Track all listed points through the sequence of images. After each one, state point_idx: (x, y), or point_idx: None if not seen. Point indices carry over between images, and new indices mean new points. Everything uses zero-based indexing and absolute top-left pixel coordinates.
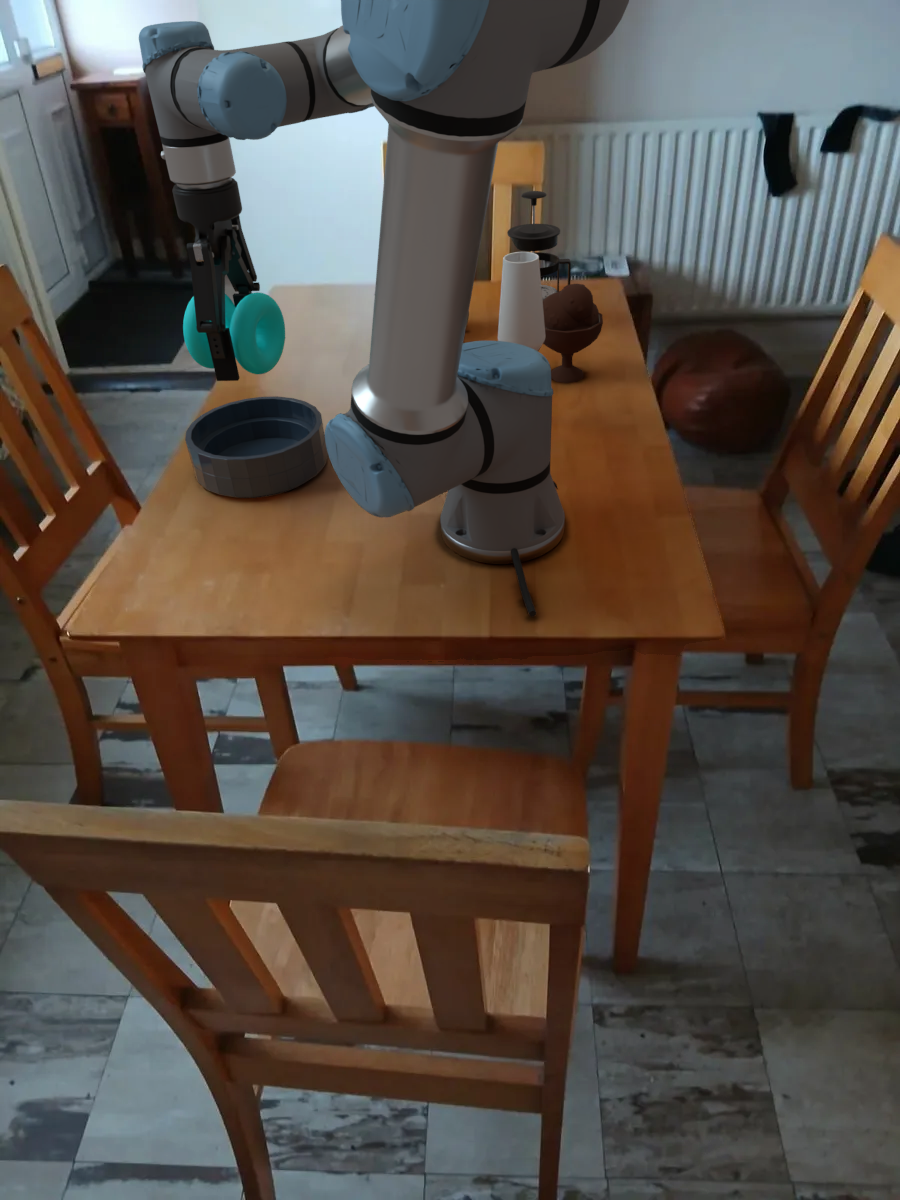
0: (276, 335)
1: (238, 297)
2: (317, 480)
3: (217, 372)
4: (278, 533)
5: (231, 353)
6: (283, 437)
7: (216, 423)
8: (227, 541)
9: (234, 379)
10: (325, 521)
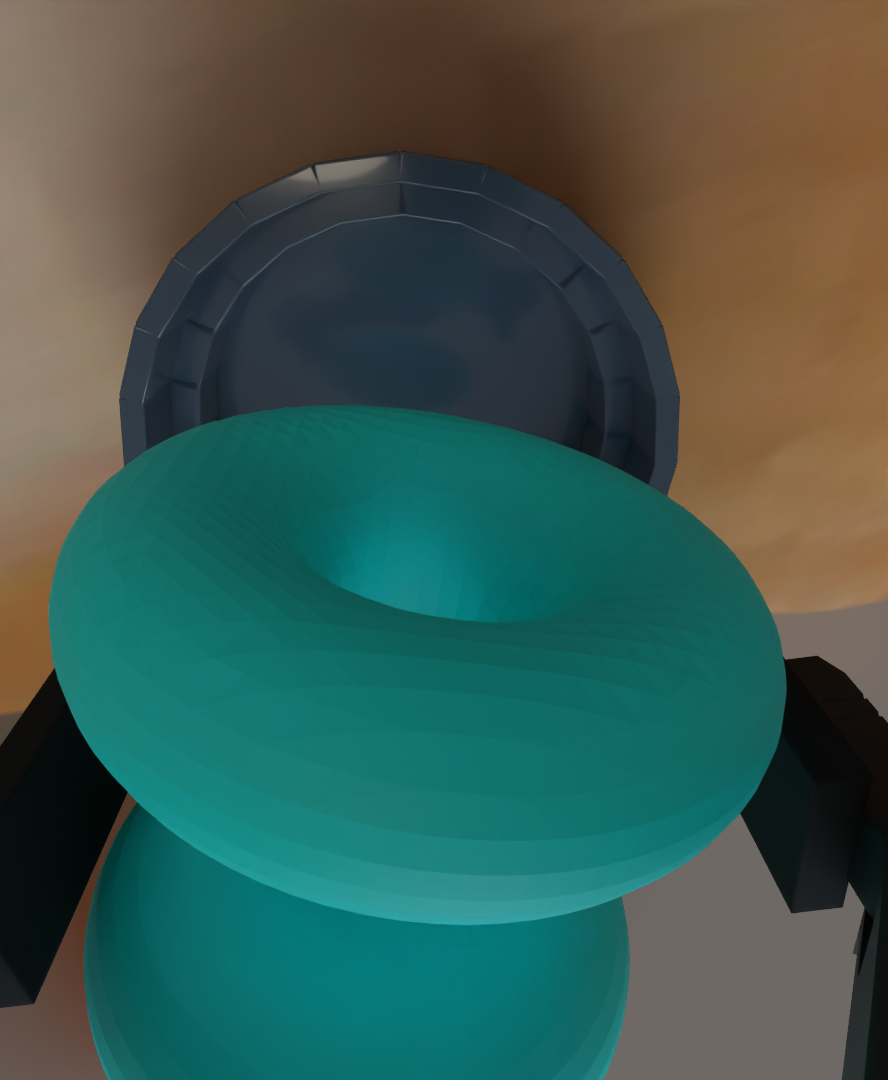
0: (296, 472)
1: (22, 955)
2: None
3: None
4: (822, 190)
5: None
6: (218, 403)
7: None
8: (845, 348)
9: None
10: (763, 20)
